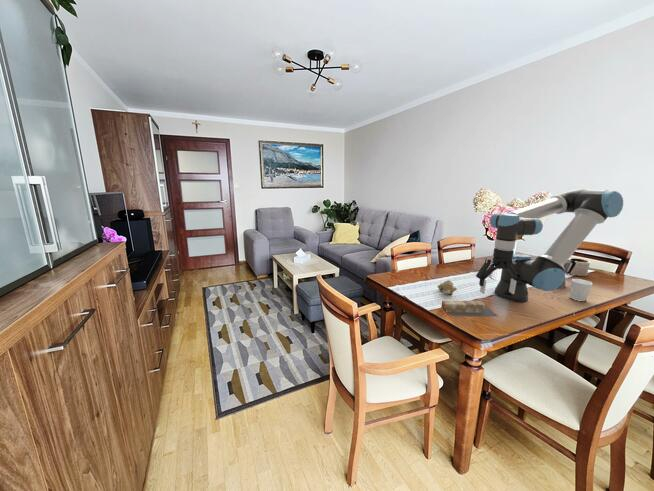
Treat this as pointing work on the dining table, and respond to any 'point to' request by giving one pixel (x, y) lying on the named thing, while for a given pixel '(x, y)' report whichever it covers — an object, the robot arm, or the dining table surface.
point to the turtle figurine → (447, 287)
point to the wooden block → (463, 306)
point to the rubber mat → (475, 313)
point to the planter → (579, 267)
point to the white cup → (580, 289)
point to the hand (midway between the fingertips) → (496, 292)
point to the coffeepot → (567, 269)
